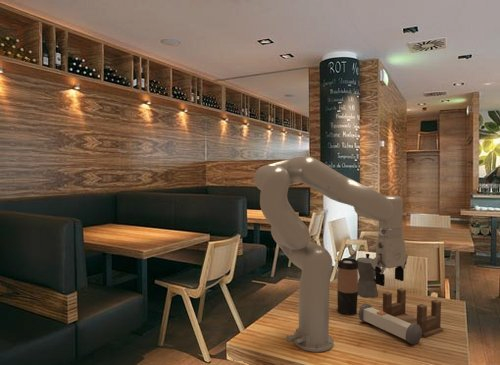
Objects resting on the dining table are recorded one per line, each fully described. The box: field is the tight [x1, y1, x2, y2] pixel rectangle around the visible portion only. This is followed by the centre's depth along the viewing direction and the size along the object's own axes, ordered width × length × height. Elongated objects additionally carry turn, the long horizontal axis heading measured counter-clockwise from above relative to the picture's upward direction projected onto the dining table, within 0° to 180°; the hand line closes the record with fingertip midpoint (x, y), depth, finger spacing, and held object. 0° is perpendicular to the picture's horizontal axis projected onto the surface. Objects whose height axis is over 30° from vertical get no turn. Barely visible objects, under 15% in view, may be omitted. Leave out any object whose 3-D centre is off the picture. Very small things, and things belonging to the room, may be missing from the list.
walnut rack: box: [382, 287, 444, 339], centre depth 134 cm, size 18×10×10 cm, turn 31°
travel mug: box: [336, 258, 359, 316], centre depth 145 cm, size 8×8×20 cm
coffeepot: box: [356, 253, 382, 298], centre depth 164 cm, size 15×9×18 cm, turn 17°
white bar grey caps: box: [358, 303, 422, 346], centre depth 128 cm, size 21×6×6 cm, turn 31°
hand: (389, 282), depth 127 cm, fingers open, 9 cm apart
